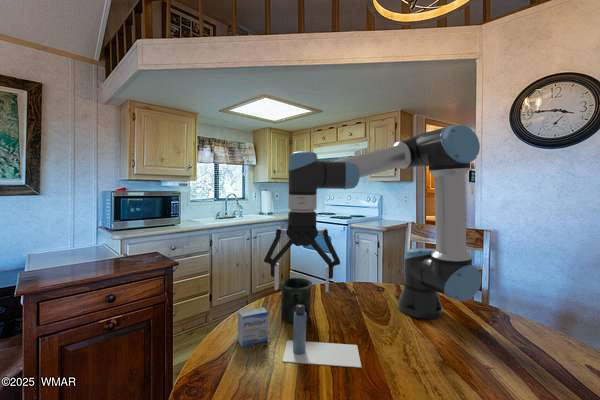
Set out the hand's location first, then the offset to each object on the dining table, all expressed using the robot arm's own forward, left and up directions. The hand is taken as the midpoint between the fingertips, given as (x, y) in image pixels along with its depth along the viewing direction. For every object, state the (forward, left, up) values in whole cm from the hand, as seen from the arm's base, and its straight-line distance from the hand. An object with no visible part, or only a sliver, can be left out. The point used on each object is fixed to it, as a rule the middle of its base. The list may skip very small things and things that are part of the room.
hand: (301, 289), depth 76 cm
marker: (0, 0, -17) cm, 17 cm away
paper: (-6, 0, -17) cm, 18 cm away
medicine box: (+14, -4, -18) cm, 23 cm away
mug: (+3, -19, -18) cm, 26 cm away
